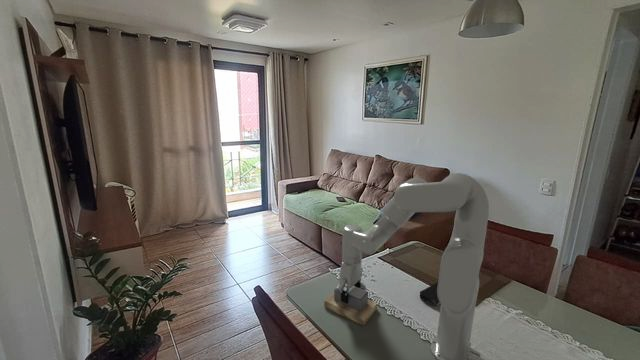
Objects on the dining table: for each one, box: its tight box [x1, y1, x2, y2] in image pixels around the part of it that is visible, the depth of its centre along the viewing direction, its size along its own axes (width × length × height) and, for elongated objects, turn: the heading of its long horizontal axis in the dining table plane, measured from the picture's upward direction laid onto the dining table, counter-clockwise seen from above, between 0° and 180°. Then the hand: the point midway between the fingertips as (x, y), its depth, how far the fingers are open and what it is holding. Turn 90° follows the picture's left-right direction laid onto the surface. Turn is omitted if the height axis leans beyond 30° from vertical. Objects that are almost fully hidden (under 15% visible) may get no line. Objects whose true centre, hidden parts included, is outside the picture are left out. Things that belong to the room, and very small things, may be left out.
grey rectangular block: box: [333, 283, 369, 312], centre depth 115 cm, size 6×12×6 cm, turn 55°
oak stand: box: [323, 291, 378, 326], centre depth 116 cm, size 18×11×3 cm, turn 55°
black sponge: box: [419, 281, 441, 306], centre depth 124 cm, size 16×8×4 cm, turn 124°
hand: (350, 295), depth 115 cm, fingers open, 9 cm apart
